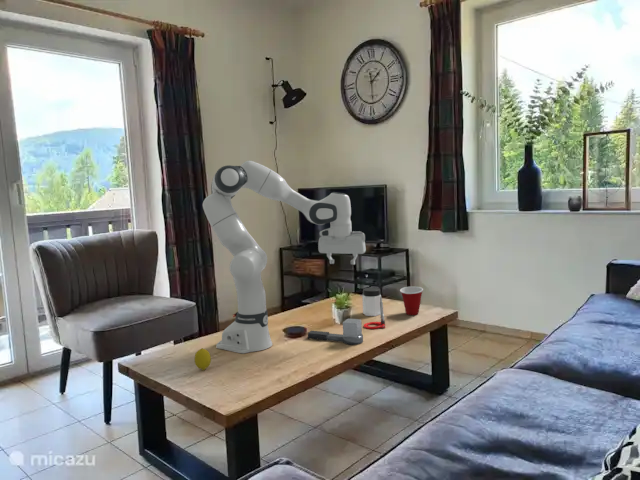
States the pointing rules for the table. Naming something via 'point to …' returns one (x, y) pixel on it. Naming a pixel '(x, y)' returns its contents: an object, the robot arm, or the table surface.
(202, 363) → the lemon
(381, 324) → the tow hook
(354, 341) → the ratchet
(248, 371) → the table surface
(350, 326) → the grey wooden cube
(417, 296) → the plastic cup
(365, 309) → the jar
